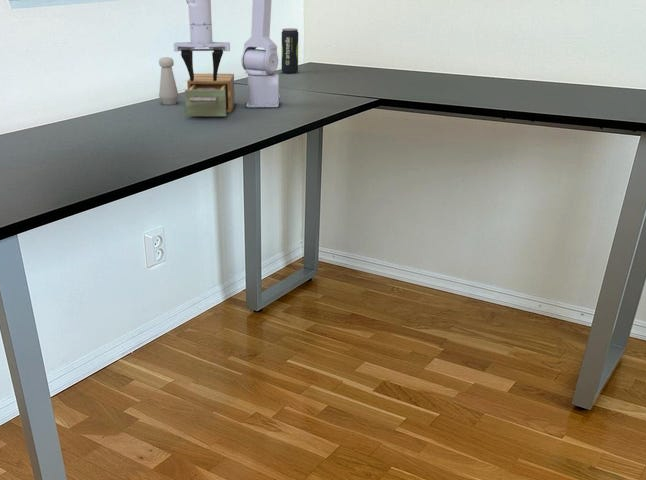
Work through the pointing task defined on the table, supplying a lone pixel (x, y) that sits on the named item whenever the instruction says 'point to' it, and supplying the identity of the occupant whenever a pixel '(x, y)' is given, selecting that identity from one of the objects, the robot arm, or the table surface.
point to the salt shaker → (167, 82)
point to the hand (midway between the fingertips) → (203, 80)
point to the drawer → (206, 100)
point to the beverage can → (289, 50)
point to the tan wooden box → (221, 79)
